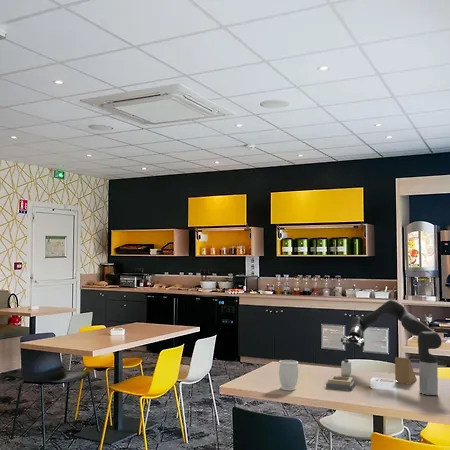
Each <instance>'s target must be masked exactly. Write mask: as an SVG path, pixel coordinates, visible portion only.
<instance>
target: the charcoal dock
mask: <svg viewBox="0 0 450 450" xmlns="http://www.w3.org/2000/svg"><path fill="white" fill-rule="evenodd" d="M355 386H356V381H355V380H354V377H352V376H351V377H342V376H341V375H338V376H337V375H331V376H330V377H329V378H328V380H327V382H326V383H325V388H326V389H331V390H332V389H333V390H342V391H351V392H352V391H353V389H354V388H355Z"/></svg>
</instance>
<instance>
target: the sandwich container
mask: <svg viewBox="0 0 450 450" xmlns="http://www.w3.org/2000/svg"><path fill="white" fill-rule="evenodd" d="M394 369H395V370H394V372H395V374H394V376H395V377H394V379H395V380H397V381H398V384H403V383H408V384H407V385H411V384H413V383H415V382H416V381H415V380H417V377H416V374H415V371H414V369H413V366H412V363H411V360H410V358H407V357H397V356H395V357H394ZM395 380H394V381H395ZM414 381H415V382H414ZM412 382H413V383H412ZM410 383H411V384H410Z"/></svg>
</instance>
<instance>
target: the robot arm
mask: <svg viewBox="0 0 450 450" xmlns="http://www.w3.org/2000/svg"><path fill="white" fill-rule="evenodd" d="M385 314H387V315H389V316H390V317H393V319H396V320H398V321H399V322H401V323H400V324H401V326H402V327H403V328H404V329H405V330H406V331H407V332H408V333H410V334H412V335H414V336H417V348H418V351H417V352H418V357H419V359H418V360H419V361H418V362H419V365H418V366H419V375H418V376H419V379H418V380H419V383H418V384H419V385H418V386H419V394H420V393H422V394H421V395H423V394H426V395H439V390H438V389H439V386H438V385H439V383H438V382H439V379H438V377H439V376H438V373H439V372H438V370H439V369H438V366H439V365H438V357H437V355H433V354H431V353H430V351H429V350H437V349H439V348H440V347H441V346H442V344H443V341H442V338H441V336H440V334H439V333H438V332H437V331H435V330H433V329H432V328H430V327H428V326H427V325H426V324H424V323H423V322H422V321H421V320H419V318H417V317H416V316H415V315H413V314H412V313H410V312H409V311H408V310H407V309H406V308H405V307H404V306H403V305H402V304H400V302H397V301H396V300H395V299H389V300H387V301H385V302H384V303H383V304H382V305H380V306H379V307H378V308H376V309H375V310H374V311H372V312H370V313H368V314H366V315H364V316H363V317H361V316H354V317H353V318H352V320H351V322H350V325H351V329H350V331H349V333H348V335H347V336H346V335H345V334H342V336H341V338H340V342H341V343H342V345H343V346H345V345H346V343H347V344H349V343H352V344H356V345H357V349H359V348H361V346H363V347H365V342H366V338H364V337H363V338H362V335H363V333H364V332H365V331H366V330H367V329H368V328H370V326H373V325H375V324H376V323H378V322H379V321H380V319H381V317H382V315H385ZM426 395H425V396H426Z"/></svg>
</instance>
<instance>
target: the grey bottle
mask: <svg viewBox="0 0 450 450" xmlns="http://www.w3.org/2000/svg"><path fill="white" fill-rule="evenodd" d="M340 365H341V367H340V370H341V373H340V374H341V375H340V376H342V377H352V361H349V359H343V360H342V361H341V364H340Z"/></svg>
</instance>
